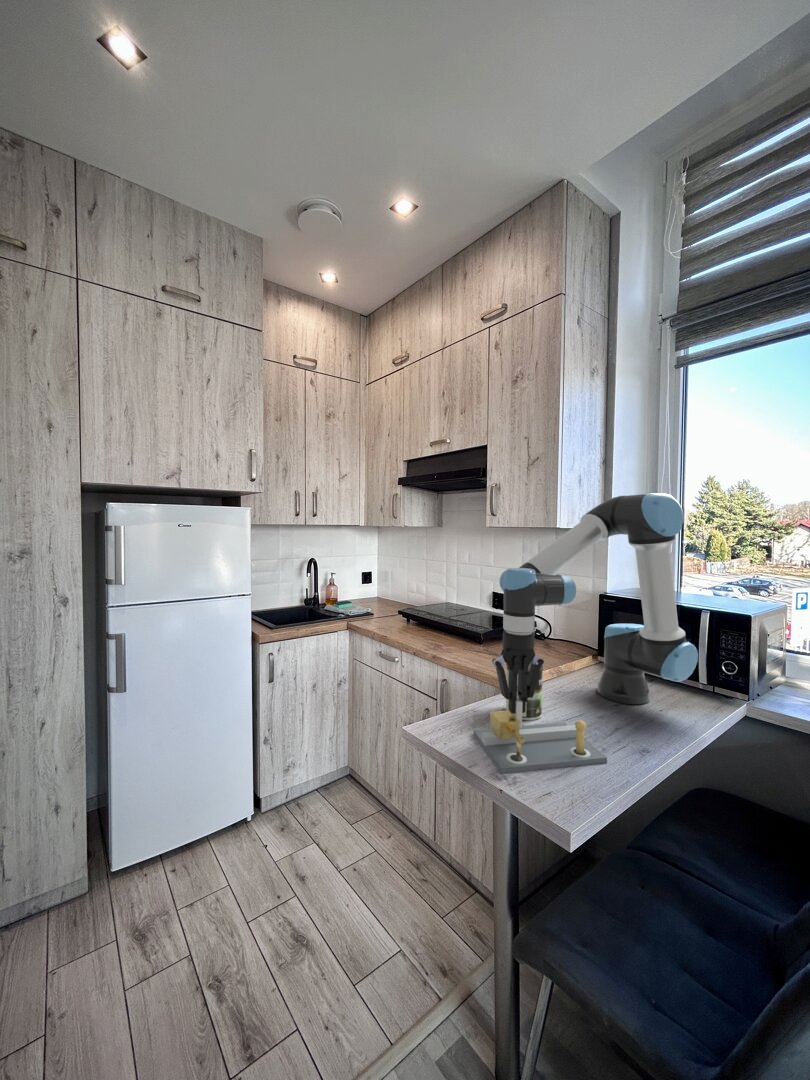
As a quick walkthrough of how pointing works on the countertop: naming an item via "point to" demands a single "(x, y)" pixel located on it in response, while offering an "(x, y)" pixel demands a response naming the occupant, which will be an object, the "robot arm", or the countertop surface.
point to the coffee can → (534, 703)
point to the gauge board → (541, 747)
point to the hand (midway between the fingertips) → (516, 725)
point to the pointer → (506, 727)
